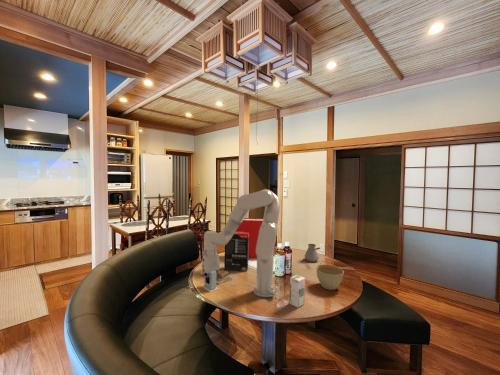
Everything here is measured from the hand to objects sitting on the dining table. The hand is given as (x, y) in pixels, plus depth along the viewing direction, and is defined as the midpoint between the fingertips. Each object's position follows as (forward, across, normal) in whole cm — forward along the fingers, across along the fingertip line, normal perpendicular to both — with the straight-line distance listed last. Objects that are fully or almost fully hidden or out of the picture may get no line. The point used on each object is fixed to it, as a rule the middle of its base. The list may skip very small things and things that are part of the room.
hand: (210, 281), depth 139 cm
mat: (+4, 0, 0) cm, 4 cm away
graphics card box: (+4, +30, +12) cm, 33 cm away
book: (+4, +56, +25) cm, 61 cm away
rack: (+4, +12, +9) cm, 15 cm away
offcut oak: (+4, +12, +4) cm, 13 cm away
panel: (+3, 0, 0) cm, 3 cm away
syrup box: (+4, +25, -45) cm, 52 cm away
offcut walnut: (+2, +12, +4) cm, 13 cm away
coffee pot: (+4, +86, -17) cm, 88 cm away
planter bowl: (+4, +57, -46) cm, 73 cm away
